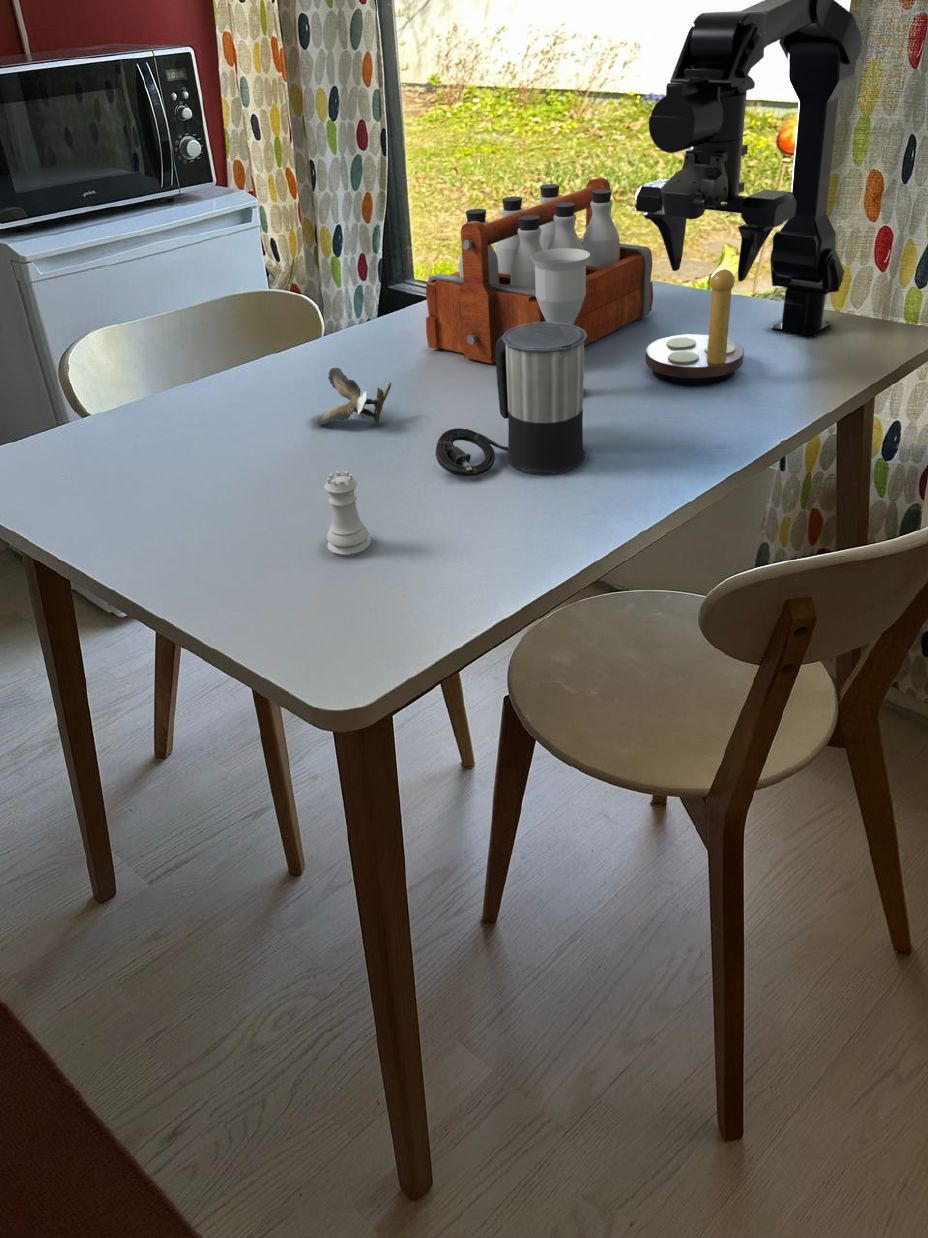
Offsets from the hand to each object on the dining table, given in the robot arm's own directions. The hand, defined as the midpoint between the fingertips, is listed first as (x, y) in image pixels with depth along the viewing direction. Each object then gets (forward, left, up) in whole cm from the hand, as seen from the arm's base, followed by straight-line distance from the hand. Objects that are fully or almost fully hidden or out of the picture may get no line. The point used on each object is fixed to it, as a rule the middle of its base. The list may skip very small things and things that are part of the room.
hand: (708, 275), depth 128 cm
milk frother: (+32, -6, -15) cm, 35 cm away
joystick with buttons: (-5, -4, -13) cm, 15 cm away
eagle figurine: (+34, -31, -15) cm, 48 cm away
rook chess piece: (+57, -7, -15) cm, 59 cm away
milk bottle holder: (-7, -32, -15) cm, 36 cm away
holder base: (-5, -4, -15) cm, 16 cm away
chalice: (+12, -14, -15) cm, 24 cm away
